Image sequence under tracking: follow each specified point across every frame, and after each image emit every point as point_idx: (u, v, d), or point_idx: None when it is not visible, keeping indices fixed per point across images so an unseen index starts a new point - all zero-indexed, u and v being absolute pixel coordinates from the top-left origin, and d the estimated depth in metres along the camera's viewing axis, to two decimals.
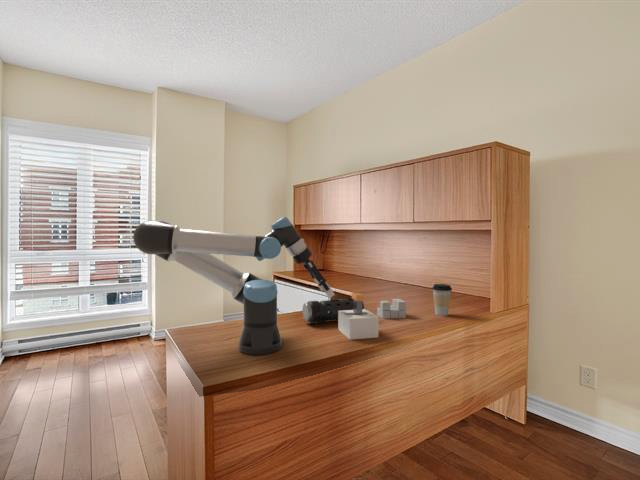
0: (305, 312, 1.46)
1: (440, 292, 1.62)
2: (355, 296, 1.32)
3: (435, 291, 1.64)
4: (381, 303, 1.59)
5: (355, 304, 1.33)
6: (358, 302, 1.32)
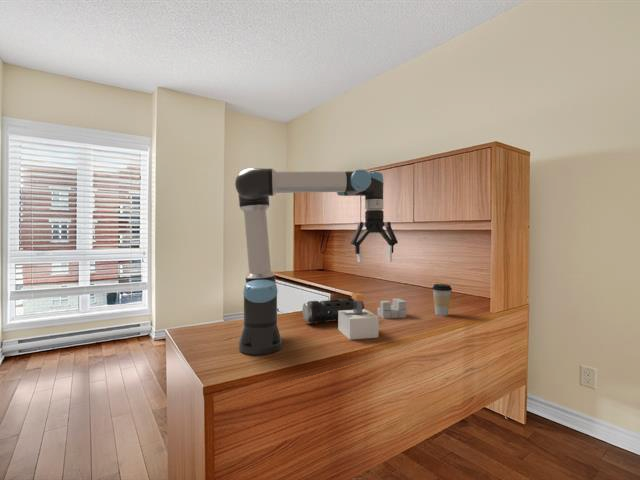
0: (305, 312, 1.46)
1: (440, 292, 1.62)
2: (355, 296, 1.32)
3: (435, 291, 1.64)
4: (381, 303, 1.59)
5: (355, 304, 1.33)
6: (358, 302, 1.32)
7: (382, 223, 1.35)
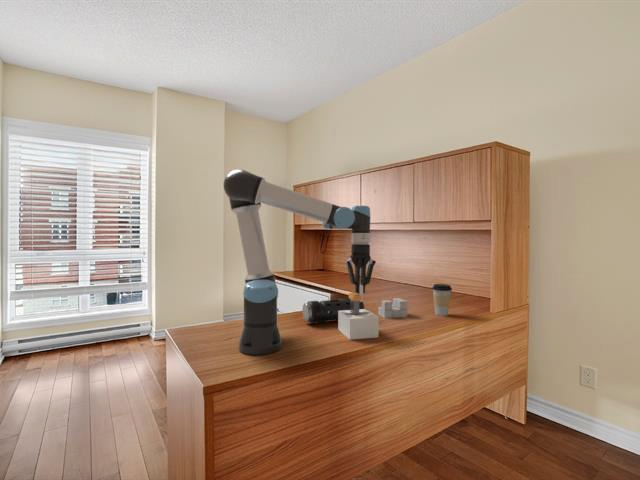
0: (305, 312, 1.46)
1: (440, 292, 1.62)
2: (352, 296, 1.32)
3: (435, 291, 1.64)
4: (383, 303, 1.60)
5: (352, 304, 1.33)
6: (355, 302, 1.31)
7: (369, 257, 1.34)
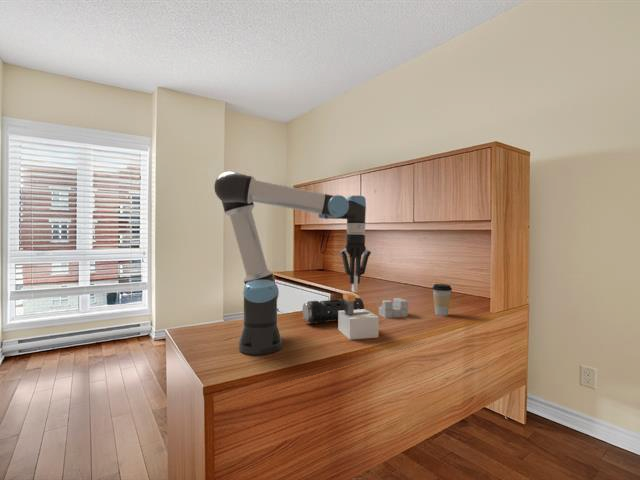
0: (305, 312, 1.46)
1: (440, 292, 1.62)
2: (346, 296, 1.31)
3: (435, 291, 1.64)
4: (383, 302, 1.60)
5: (346, 305, 1.32)
6: (349, 302, 1.31)
7: (364, 248, 1.33)
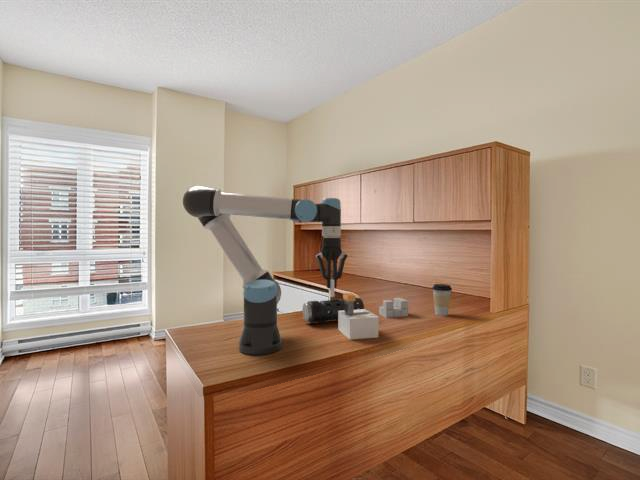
0: (305, 312, 1.46)
1: (440, 292, 1.62)
2: (346, 296, 1.31)
3: (435, 291, 1.64)
4: (384, 302, 1.61)
5: (346, 305, 1.32)
6: (349, 302, 1.31)
7: (340, 251, 1.30)
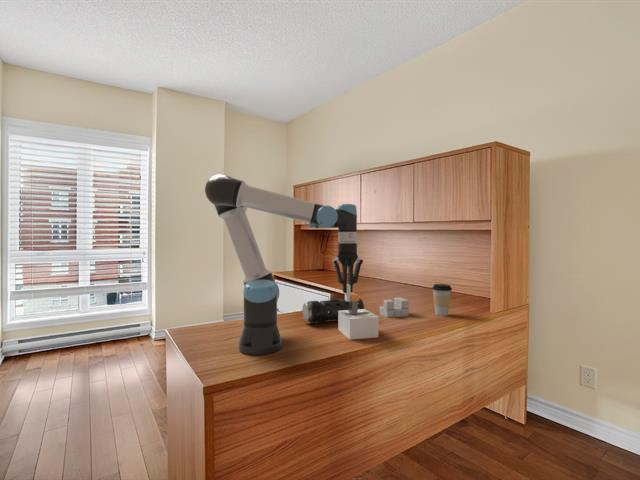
0: (305, 312, 1.46)
1: (440, 292, 1.62)
2: None
3: (435, 291, 1.64)
4: (385, 302, 1.61)
5: (350, 304, 1.32)
6: (353, 302, 1.31)
7: (356, 256, 1.32)
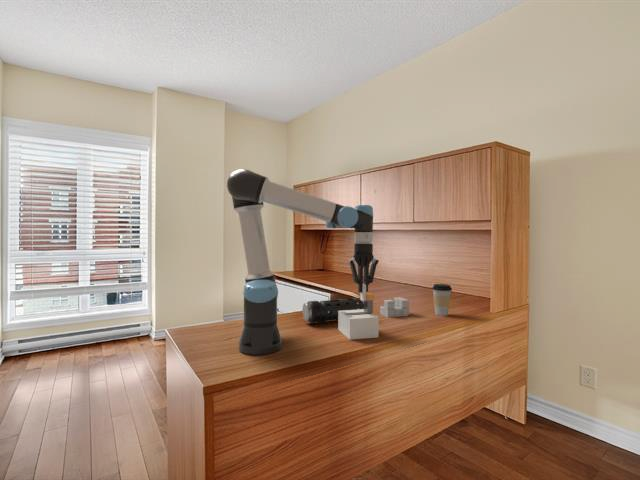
0: (305, 312, 1.46)
1: (440, 292, 1.62)
2: (366, 295, 1.33)
3: (435, 291, 1.64)
4: (385, 302, 1.62)
5: (366, 303, 1.34)
6: (369, 301, 1.33)
7: (371, 256, 1.34)
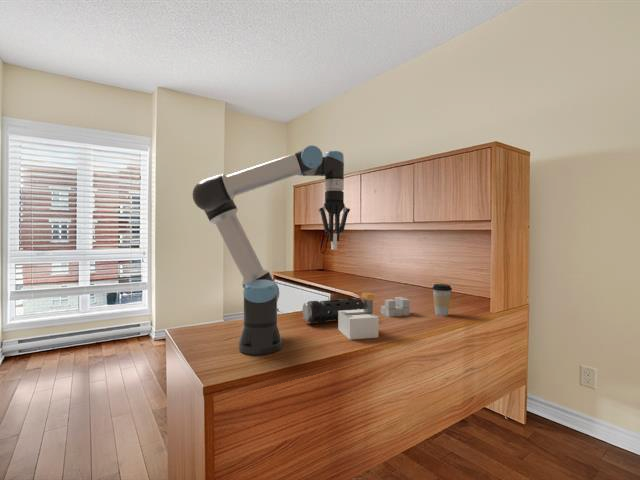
0: (305, 312, 1.46)
1: (440, 292, 1.62)
2: (365, 295, 1.33)
3: (435, 291, 1.64)
4: (387, 302, 1.62)
5: (365, 303, 1.34)
6: (368, 301, 1.33)
7: (342, 205, 1.31)
